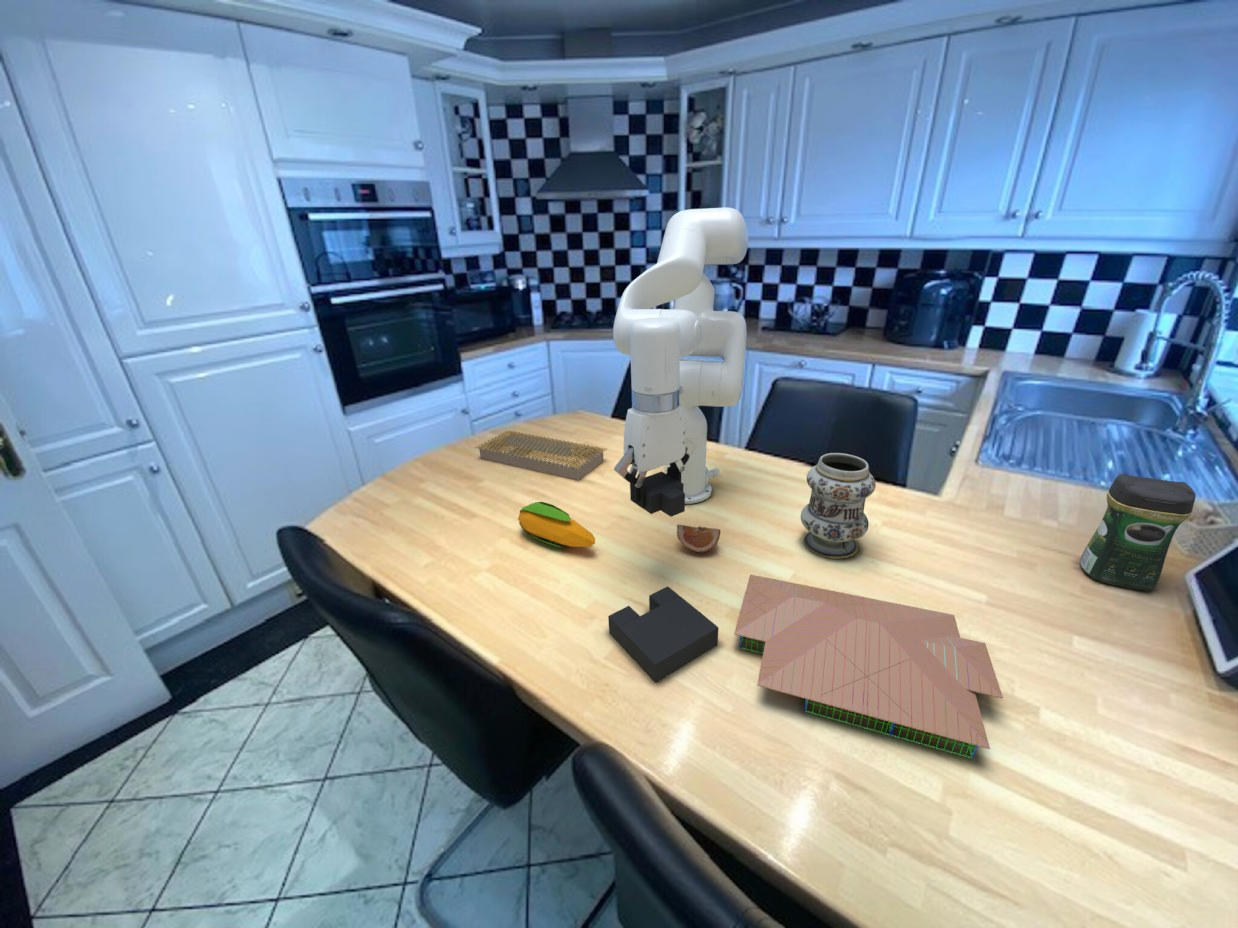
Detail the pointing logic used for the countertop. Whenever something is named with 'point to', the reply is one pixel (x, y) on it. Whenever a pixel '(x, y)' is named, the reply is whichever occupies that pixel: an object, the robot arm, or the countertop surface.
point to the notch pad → (663, 633)
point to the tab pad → (663, 494)
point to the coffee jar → (1137, 531)
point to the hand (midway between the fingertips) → (656, 496)
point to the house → (869, 659)
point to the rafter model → (542, 444)
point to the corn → (553, 526)
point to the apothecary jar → (837, 505)
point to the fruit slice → (698, 537)
